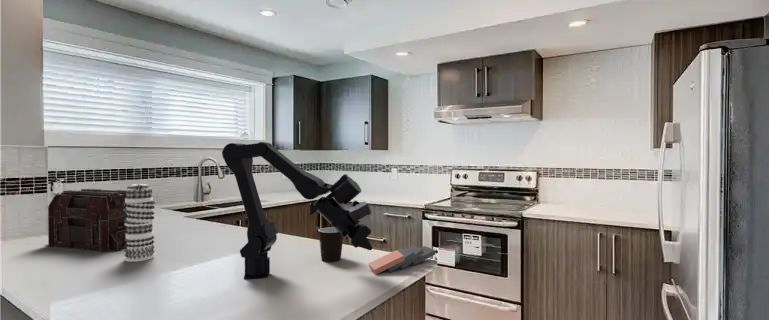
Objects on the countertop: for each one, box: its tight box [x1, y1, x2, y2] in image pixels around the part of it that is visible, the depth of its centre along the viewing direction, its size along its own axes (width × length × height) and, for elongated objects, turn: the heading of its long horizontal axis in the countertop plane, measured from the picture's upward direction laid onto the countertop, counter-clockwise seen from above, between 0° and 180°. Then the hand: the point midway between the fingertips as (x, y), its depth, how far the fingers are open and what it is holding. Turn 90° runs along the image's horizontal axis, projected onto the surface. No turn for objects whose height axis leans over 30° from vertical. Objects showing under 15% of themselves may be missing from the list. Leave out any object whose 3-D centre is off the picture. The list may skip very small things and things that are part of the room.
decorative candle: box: [123, 183, 156, 263], centre depth 130 cm, size 9×9×25 cm
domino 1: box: [368, 249, 405, 275], centre depth 117 cm, size 2×5×10 cm
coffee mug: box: [317, 226, 344, 263], centre depth 130 cm, size 12×9×10 cm
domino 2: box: [385, 248, 415, 273], centre depth 120 cm, size 2×5×10 cm
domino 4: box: [409, 245, 436, 266], centre depth 127 cm, size 2×5×10 cm
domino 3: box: [397, 245, 424, 270], centre depth 123 cm, size 2×5×10 cm
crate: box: [47, 188, 127, 253], centre depth 150 cm, size 35×19×21 cm, turn 74°
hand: (371, 249), depth 114 cm, fingers closed
